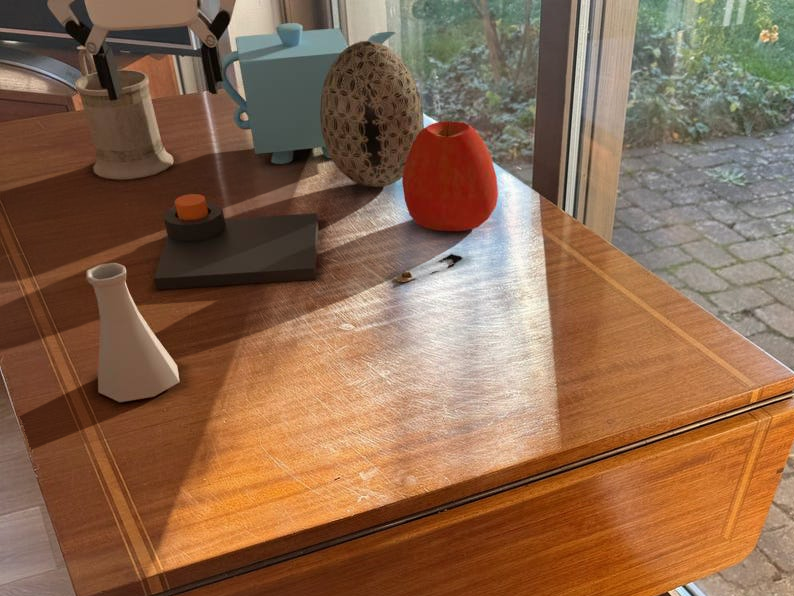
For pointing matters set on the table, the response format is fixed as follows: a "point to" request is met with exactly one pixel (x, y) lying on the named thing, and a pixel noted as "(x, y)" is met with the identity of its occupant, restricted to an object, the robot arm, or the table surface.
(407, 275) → the fossil
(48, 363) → the table surface
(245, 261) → the scale
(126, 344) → the flask
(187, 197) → the button
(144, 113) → the mug
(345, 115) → the decorative egg
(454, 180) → the apple
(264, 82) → the teapot
